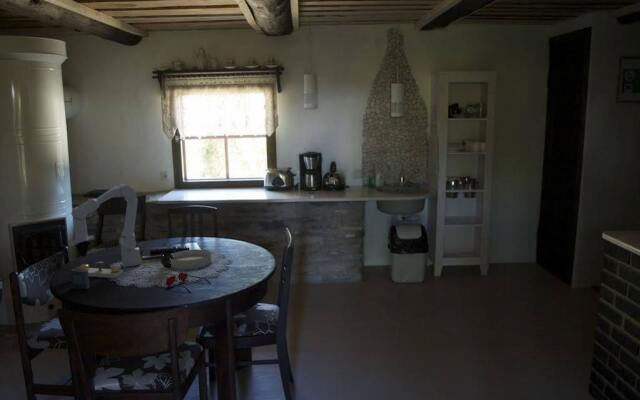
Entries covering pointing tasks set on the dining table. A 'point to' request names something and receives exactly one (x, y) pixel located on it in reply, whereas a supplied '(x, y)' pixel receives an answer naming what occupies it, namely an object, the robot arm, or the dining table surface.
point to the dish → (190, 259)
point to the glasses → (182, 277)
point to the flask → (80, 278)
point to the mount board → (103, 273)
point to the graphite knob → (99, 264)
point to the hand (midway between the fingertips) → (83, 256)
